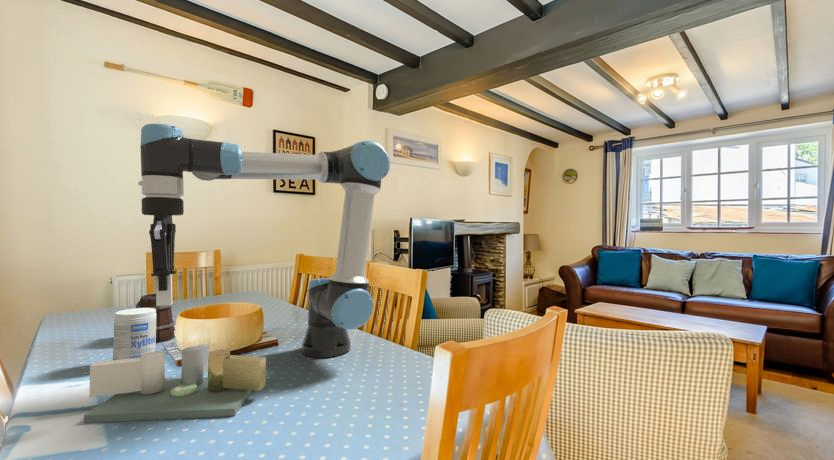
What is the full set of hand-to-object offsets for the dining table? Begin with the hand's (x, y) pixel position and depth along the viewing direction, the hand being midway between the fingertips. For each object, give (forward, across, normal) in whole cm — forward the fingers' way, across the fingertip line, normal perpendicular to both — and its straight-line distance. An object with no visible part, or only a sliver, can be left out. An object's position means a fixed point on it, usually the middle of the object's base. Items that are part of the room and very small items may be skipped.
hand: (164, 304), depth 80 cm
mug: (+22, -56, -15) cm, 62 cm away
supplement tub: (+22, -30, -13) cm, 39 cm away
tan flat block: (+20, +3, +14) cm, 25 cm away
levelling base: (+22, 0, +3) cm, 22 cm away
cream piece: (+20, -4, -7) cm, 21 cm away
